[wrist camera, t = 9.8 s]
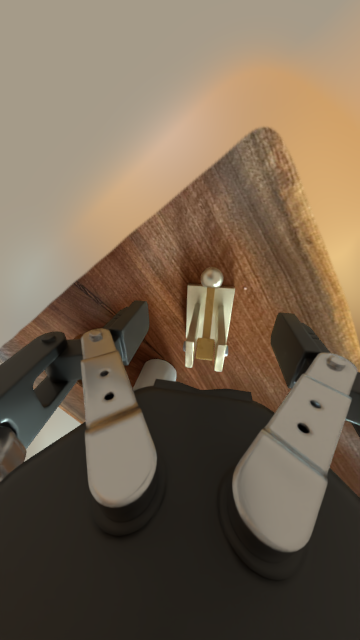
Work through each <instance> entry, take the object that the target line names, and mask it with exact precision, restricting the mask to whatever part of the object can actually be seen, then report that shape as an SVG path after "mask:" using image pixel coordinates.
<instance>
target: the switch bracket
mask: <svg viewBox="0 0 360 640" xmlns="http://www.w3.org/2000/svg"><path fill="white" fill-rule="evenodd" d="M206 293H207V289H206V288H205V287H204V286H203V285H202V284H192V283H188V287H187V318H186V338H187V339H186V341H184V345H183V351H186V357H185V367H190V368H192V366H193V360H194V354H195V348H196V342H197V339H198V338H202V335H203V324H204V314H205V304H206ZM234 293H235V286H222V285H221V286H220V287H219V288H217V289H215V293H214V304H213V314H212V325H211V336H210V339H214V341H215V365H214V371H220V372H222V368H223V362H224V356H227V354H228V346H226V342H227V335H228V329H229V323H230V317H231V311H232V305H233V299H234Z"/></svg>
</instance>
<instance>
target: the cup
mask: <svg viewBox="0 0 360 640" xmlns="http://www.w3.org/2000/svg"><path fill="white" fill-rule="evenodd" d="M156 379H162V380H169V381H176V370H175V369H174V367H173V366H172V365H171V364H169V363H168V362H167V361H164V360H160V359H151V360H149V361H147V362H146V363H145V364H144V366H143V368H142V370H141V373H140V375H139V377H138V379H137V381H136V383H135V385H134V387H133V389H132V390H133V391H134V390H137V389H139V388H143V387H147V386H153V385H154V382H155V380H156Z"/></svg>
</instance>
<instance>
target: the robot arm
mask: <svg viewBox="0 0 360 640" xmlns="http://www.w3.org/2000/svg"><path fill="white" fill-rule="evenodd" d="M148 329H149V314H148V304H147V302H146V301H134V302H133V303H132V304H131V305H130V306H129V307H126V308H124V309H122V310H120V311H119V312H118V313H117V314H116V315H115V316H114V317H113V319H111V320H110V321H109V322H108V323H107V324H106V325H105V326H104V327H103V328H98V329H93V330H90V331H88V332H86V333H85V334H83V335H82V337H81V339H74V340H66V337H65V334H64V333H62V332H50V333H46V334H43V335H41V336H39V337H37V338H36V339H34V340H33V341H32V342H30V343H29V344H28V345H26V346H25V347H24V348H22V349H21V350H20V351H19V352H17V353H16V354H15V355H13V356H12V357H11V358H9V359H8V360H7V361H5V362H4V363H3V364H1V365H0V640H360V498H359V497H358V496H357V495H356V494H355V493H354V492H353V491H352V490H351V489H350V488H349V487H348V486H347V485H346V484H345V483H344V482H343V481H342V480H341V479H340V478H339V477H338V476H337V475H336V474H335V473H334V472H333V471H332V470H331V468H330V464H331V461H332V458H333V455H334V452H335V449H336V446H337V443H338V440H339V437H340V434H341V431H342V428H343V425H344V422H345V420H346V421H349V422H351V423H352V425H353V426H354V428H355V430H356V432H357V434H358V435H359V437H360V373H359V372H357V368H356V366H355V365H354V364H353V363H352V362H350V361H349V360H347V359H346V358H344V357H341V356H339V355H336V354H333V353H330V352H329V350H328V349H327V348H326V347H325V345H324V344H323V343H322V342H321V340H319V338H318V337H317V335H315V333H314V331H313V330H312V329H311V328H310V327H308V326H307V325H305V324H304V323H301V322H300V321H299V320H298V318H297V317H296V316H295V314H289V313H279V314H278V315H277V318H276V321H275V325H274V328H273V331H272V335H271V346H272V348H273V351H274V353H275V356H276V358H277V361H278V363H279V366H280V369H281V371H282V374H283V376H284V379H285V381H286V384H287V386H288V388H292V389H291V391H290V392H289V394H288V395H287V396H286V398H285V399H284V401H283V402H282V404H281V405H280V406H279V408H278V409H277V411H276V412H275V413H274V412H273V411H271V410H270V409H268V408H267V407H265V406H263V405H262V404H259V403H257V402H255V401H252V396H251V392H246V391H239V390H232V389H214V390H199V389H196V388H193V387H191V386H188V385H185V384H183V383H180V382H176V381H169V380H162V379H156V380H155V382H154V385H153V386H147V387H143V388H139V389H137V390H134V391H133V390H132V387H131V384H130V381H129V378H128V376H127V373H126V370H125V367H124V365H127V366H128V365H129V363H130V361H131V359H132V358H133V356H134V354H135V353H136V351H137V349H138V347H139V346H140V344H141V342H142V341H143V339H144V337H145V335H146V334H147V332H148ZM44 370H45V372H46V374H47V377H46V378H45V379H44V380H43V381H42V382H41V383H40V384H39V385H38V386H37V387H36V388H35V389H34V390H33V383H34V381H35V379H36V378H37V377H38V376H39V375H40V374H41V373H42V372H43V371H44ZM81 379H82V383H83V395H84V406H85V418H86V422H84V423H83V424H81V425H80V426H78V427H77V428H75V429H74V430H72V431H71V432H69V433H68V434H66V435H65V436H63V437H61V438H60V439H58V440H57V441H55V442H54V443H52V444H51V445H49V446H48V447H46V448H45V449H44V450H42V451H40V452H39V453H37V454H36V455H34V456H33V457H31V458H30V459H28V460H27V461H25V462H24V460H25V457H26V449H27V448H28V446H29V445H30V443H31V442H32V441H33V439H34V438H35V437H36V435H37V434H38V433H39V432H40V430H41V429H42V428H43V426H44V425H45V423H46V422H47V421H48V419H49V418H50V417H51V415H52V414H53V413H54V411H55V410H56V409H57V407H58V406H59V405H60V403H61V402H62V401H63V399H64V398H65V397H66V395H67V394H68V393H69V391H70V390H71V389H72V387H73V386H74V385H75V383H76V382H77V381H78V380H81Z"/></svg>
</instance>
